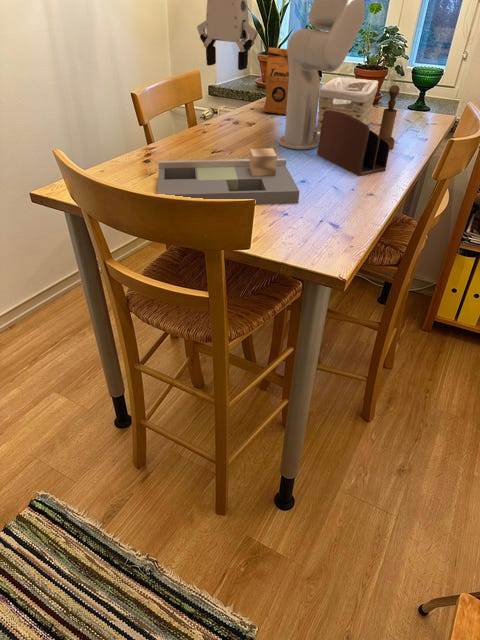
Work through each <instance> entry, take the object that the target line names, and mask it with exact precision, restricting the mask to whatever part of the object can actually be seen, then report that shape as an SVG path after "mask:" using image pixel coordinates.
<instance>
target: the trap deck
mask: <svg viewBox="0 0 480 640" xmlns="http://www.w3.org/2000/svg"><path fill="white" fill-rule="evenodd" d="M157 163H158V164H157V165H158V172H157V173H158V174H157V175H158V177H157V193H156V195H157V194H165V195H175V196H183V197H191V198H203V199H255V200H256V204H255V205H267V204H268V205H271V204H273V205H274V204H299V202H300V201H299V199H300V189H299V187H298V185H297V184H296V182H295V181H294V179H293V177H292V175H291V173H290V171H289V169H288V168H287V166H286V165H287V159H286V158H285V157H283V158H278V157H277V163H276V176H252V173H251V170H250V158H245V159H244V158H241V159H240V158H229V159H189V160H187V159H184V160H183V159H180V160H172V159H171V160H158V162H157Z"/></svg>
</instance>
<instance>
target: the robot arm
mask: <svg viewBox="0 0 480 640" xmlns="http://www.w3.org/2000/svg"><path fill="white" fill-rule="evenodd" d="M248 6H249V5H248V0H207V1H206V16H205V17H206V19H205V20H204V21H203V22H201V23H200V24H198V25H197V26H196V30H197V32H198V34H199V38H200V41H202V43H203V47H204V48H205V56H206V57H205V59H206V66H208V67H209V66H213V65H215V64H217V53H216V51H217V49H216V46H215V44H216V43H217V41H219V42H221V41H222V42H229V43H236V45H237V47H238V49H239V51H238V54H237V58H238V59H237V69H238V70H239V71H243V70H247V68H248V65H249V63H248V61H249V60H248V59H249V51H250V50H251V48H252V47H253V46H254V45H255V41H256V39H257V37H258V35H259V32H258V30H257V29H255V28H254V27H253V26H251V25H250V24H249V22H250V20H249V8H248ZM365 14H366V5H365V0H314V1H313V2H312V4H311V7H310V10H309V14H308V15H309V16H308V19H309V23H310V24H311V26H312V27H313V28H315V29H310V28H303V29H302V28H301V29H298V30H296V31H295V32H294V33H293V34H291V36H290V38H289V40H288V44H287V49H288V63H289V84H288V96H287V109H286V115H285V123H284V124H285V125H284V135H283V136H281V137H279V142H278V143H279V145H280V146H282V147H284V148H287V149H291V150H300V151H301V150H312V149H315V148H316V147H317V148H318V145H319V139H320V132H321V131H317V129H316V123H317V117H318V109H319V92H320V89H321V81H320V80H321V79H320V75H319V71H321V72H326V73H333V72H335V71H337V70H338V69H339V68H340V67H341V66H342V64H343V63H344V61H345V60H346V58H347V55H348V53H349V51H350V50H351V48H352V47H353V44H354V43H355V40H356V38H357V35H358V33H359V32H360V30H361V28H362V25H363V22H364V20H365V19H364V18H365Z"/></svg>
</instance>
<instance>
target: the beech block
mask: <svg viewBox="0 0 480 640" xmlns="http://www.w3.org/2000/svg"><path fill="white" fill-rule="evenodd" d="M249 150H250V151H249V159H250V170H251V173H252V176H276V163H277V158H278V156H277V153H276V152H275V150H274V148H271V147H270V148H250V149H249Z"/></svg>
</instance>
